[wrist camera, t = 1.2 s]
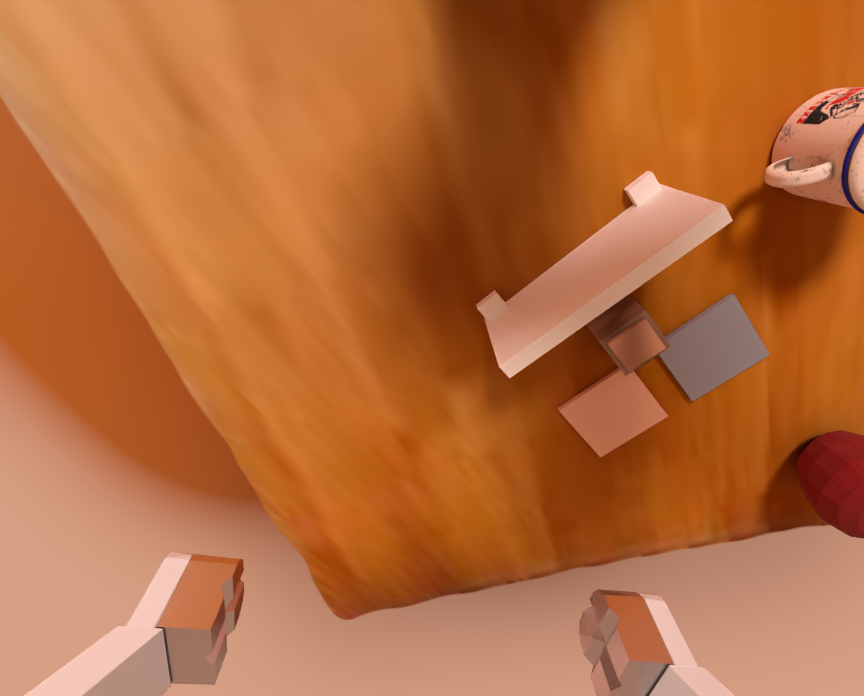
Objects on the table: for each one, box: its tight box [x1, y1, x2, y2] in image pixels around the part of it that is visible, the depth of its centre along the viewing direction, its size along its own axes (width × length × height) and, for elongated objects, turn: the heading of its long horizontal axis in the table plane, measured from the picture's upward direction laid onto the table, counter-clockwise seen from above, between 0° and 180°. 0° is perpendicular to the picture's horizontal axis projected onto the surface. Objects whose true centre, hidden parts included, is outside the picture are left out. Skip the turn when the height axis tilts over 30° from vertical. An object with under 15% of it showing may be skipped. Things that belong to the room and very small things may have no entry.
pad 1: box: [558, 367, 668, 458], centre depth 53 cm, size 9×9×1 cm
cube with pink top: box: [586, 294, 671, 376], centre depth 46 cm, size 5×5×5 cm
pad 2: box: [659, 293, 770, 402], centre depth 50 cm, size 9×9×1 cm
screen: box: [476, 171, 733, 378], centre depth 41 cm, size 20×5×10 cm, turn 131°
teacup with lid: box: [764, 87, 864, 214], centre depth 36 cm, size 12×9×12 cm
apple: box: [796, 431, 864, 538], centre depth 51 cm, size 11×11×12 cm
